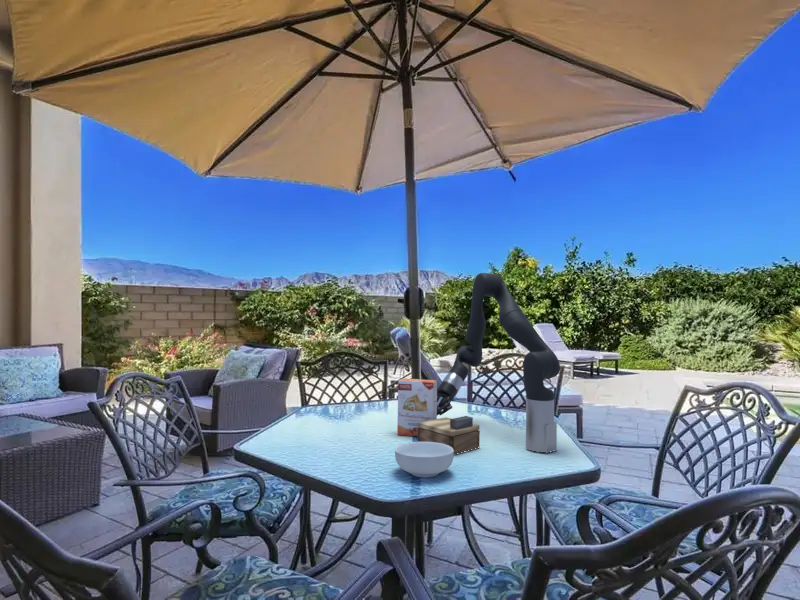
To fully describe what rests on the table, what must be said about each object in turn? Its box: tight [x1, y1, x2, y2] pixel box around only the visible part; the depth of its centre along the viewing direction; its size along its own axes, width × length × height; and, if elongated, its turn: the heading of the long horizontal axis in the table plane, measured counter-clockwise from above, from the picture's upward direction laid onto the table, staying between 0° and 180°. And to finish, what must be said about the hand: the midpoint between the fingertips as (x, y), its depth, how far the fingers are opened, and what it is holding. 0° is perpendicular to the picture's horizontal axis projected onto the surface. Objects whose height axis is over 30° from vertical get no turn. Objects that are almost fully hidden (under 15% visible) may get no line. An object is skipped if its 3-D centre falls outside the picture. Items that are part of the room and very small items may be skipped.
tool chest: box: [417, 428, 481, 455], centre depth 163 cm, size 16×14×6 cm
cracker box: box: [396, 377, 438, 437], centre depth 178 cm, size 14×6×21 cm, turn 71°
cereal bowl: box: [394, 441, 455, 478], centre depth 136 cm, size 17×17×7 cm
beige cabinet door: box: [418, 415, 481, 436], centre depth 163 cm, size 16×14×4 cm
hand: (428, 421), depth 182 cm, fingers closed
